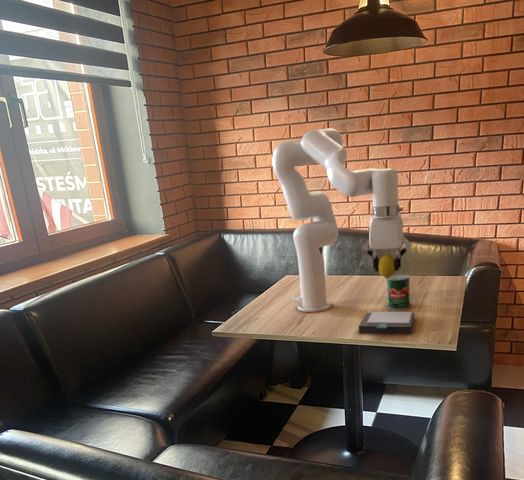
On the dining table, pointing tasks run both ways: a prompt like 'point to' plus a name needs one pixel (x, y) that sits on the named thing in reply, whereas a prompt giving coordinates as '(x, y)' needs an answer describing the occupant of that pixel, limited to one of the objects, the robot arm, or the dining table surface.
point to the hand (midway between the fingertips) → (387, 269)
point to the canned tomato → (398, 292)
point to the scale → (387, 323)
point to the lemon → (386, 266)
